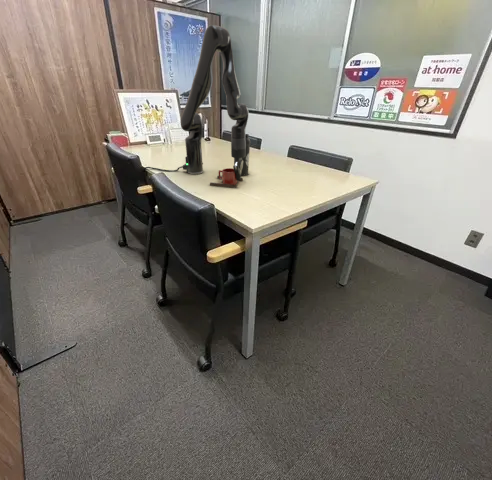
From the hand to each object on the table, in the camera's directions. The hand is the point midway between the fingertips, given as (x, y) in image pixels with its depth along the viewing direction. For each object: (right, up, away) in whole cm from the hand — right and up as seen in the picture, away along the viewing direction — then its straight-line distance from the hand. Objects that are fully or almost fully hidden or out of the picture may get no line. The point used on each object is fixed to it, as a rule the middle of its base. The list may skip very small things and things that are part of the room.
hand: (238, 180), depth 144 cm
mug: (-6, 0, +4) cm, 7 cm away
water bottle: (+1, +8, +18) cm, 20 cm away
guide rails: (-7, -1, +3) cm, 7 cm away
